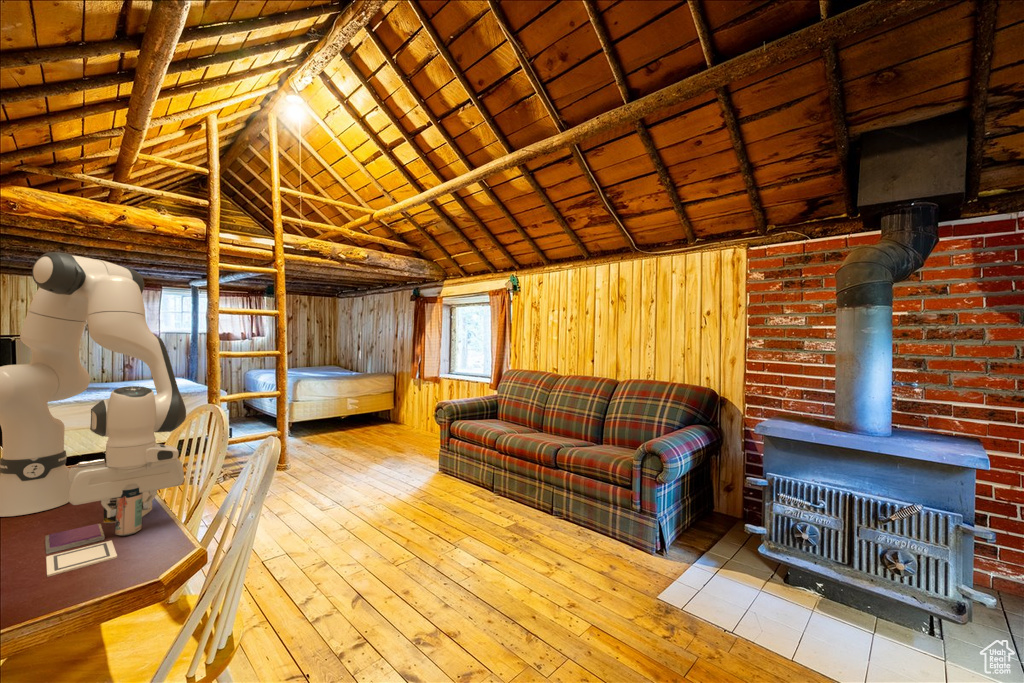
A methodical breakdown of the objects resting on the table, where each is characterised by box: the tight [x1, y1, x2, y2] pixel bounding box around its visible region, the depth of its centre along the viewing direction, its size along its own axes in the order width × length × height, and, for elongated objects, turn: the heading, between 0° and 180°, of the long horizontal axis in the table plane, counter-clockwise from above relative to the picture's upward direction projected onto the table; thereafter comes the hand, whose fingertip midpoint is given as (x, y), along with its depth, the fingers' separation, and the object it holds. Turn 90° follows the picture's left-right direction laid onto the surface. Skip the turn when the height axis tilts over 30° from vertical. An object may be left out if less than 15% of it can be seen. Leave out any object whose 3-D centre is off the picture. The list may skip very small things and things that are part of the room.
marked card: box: [45, 540, 118, 578], centre depth 89 cm, size 10×10×1 cm
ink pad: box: [45, 523, 105, 555], centre depth 96 cm, size 9×9×1 cm
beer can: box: [114, 484, 143, 537], centre depth 100 cm, size 5×5×12 cm
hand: (129, 512), depth 100 cm, fingers closed on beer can, 5 cm apart
